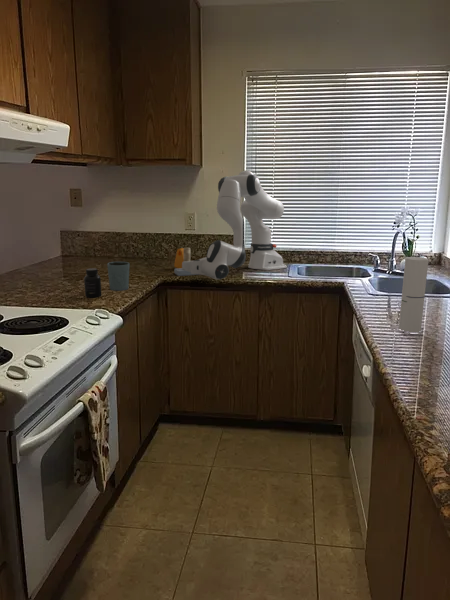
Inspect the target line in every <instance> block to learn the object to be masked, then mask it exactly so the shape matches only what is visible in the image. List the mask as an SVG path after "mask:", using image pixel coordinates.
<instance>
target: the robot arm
mask: <svg viewBox="0 0 450 600" xmlns="http://www.w3.org/2000/svg"><path fill="white" fill-rule="evenodd" d="M217 190H218V197H217V202H216V210H217V214H218V215H219V216H220V217H219V218H221V219H222V220H223V221H224V222H225V223H227V224H228V225H229V226H230V228H231V229H232V232H233V244H230V243H229V242H228V243H227V242H225V241H222V240H220V239H217V240H215V241H213V242H212V243H210V245H209V246H208V248H207V250H206V257H203V258H199V259H194V260H190V261H184V262H182V268H183V269H184V270H186V271H188V272H191V274H200V276H201V275H202V276H206V277H209V278H211V279H214V280H222V279H225V278H226V277H227V276H228V275H229V272H230V269H229V267H231V268H234V269H237V268H239V267H241V266H243V265H244V264H245V262H246V257H247V255H246V249H245V247H246V246H245V242H246V241H245V220H247V222H248V224H249V226H250V230H251V231H250V233H251V243H250V259H249V263H248V266H247V267H248V268H249V269H252V270H253V269H255V270H264V271H269V270H270V271H272V270H278V269H279V270H281V269H287V267H288V266H287V265H286V264H285V263H284V259H283V257H282V255H281V254H279V253H278V252H277V251H276V250H275V249H276V248H277V247H278V246H277V244H274V243H271V242H272V231H271V228H270V227H269V226H268V225H266V224H265V223H264V221H263V220H276V219H277V220H278V219H280V218H281V217H282V216H283V214H284V213H285V206H284V203H282V201H281V200H278V199H275V198H274V197H273V196H271V195H269V194H268V193H267V192H266V191H265V189H264V188H263V186H262V185H261V181H260V178H259V177H258V176H257V175H256V174H254V173H253V172H252V171H250V170H248V169H246V170H242V171H241V172H239V174H237V175H231V176H224V177H222V178H220V179H219V181H218V184H217ZM242 198H244V200H243V201H242V203H241V199H242Z"/></svg>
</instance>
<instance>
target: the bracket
mask: <svg viewBox="0 0 450 600" xmlns="http://www.w3.org/2000/svg"><path fill="white" fill-rule="evenodd" d="M184 248H185V247H182V248H177V250H176V253H175V260H174V264H173V265H174V266H173V267H174V268H175V269H177V268H182V262H184Z"/></svg>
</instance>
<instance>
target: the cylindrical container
mask: <svg viewBox="0 0 450 600" xmlns="http://www.w3.org/2000/svg"><path fill="white" fill-rule="evenodd" d="M404 260H405V261H404V270H403V277H402V278H403V281H402V288H401V289H402V290H401V301H400V309H399V311H400V312H399V321H398V322H399V323H398V330H399V329H401V330H404V331H409V332H419V331H421V332H422V324H423V316H424V315H423V313H424V307H425V306H424V304H425V299H426V298H425V295H426V286H427V277H428V270H429V258H428V257H427V258H426V257H421V256H406V257H405V259H404Z"/></svg>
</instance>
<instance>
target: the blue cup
mask: <svg viewBox="0 0 450 600" xmlns="http://www.w3.org/2000/svg"><path fill="white" fill-rule="evenodd" d="M107 274H108V275H107V276H108V285H109V290H111V291H115V292H116V291H121V292H122V291H126V290H129V283H130V262H127V261H111V262H110V261H109V262H108V263H107Z"/></svg>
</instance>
